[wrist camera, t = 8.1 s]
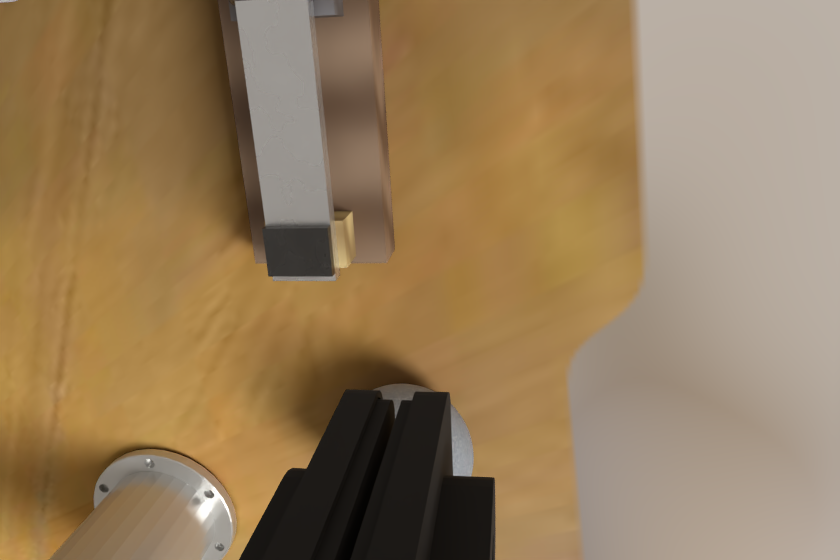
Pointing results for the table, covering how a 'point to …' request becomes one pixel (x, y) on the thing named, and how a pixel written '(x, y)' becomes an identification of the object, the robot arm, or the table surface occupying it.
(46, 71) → the table surface
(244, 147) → the mount block
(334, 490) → the robot arm
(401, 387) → the decorative stone
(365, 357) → the table surface
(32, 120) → the table surface
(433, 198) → the table surface
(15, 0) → the dog figurine
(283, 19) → the grey flat bar
